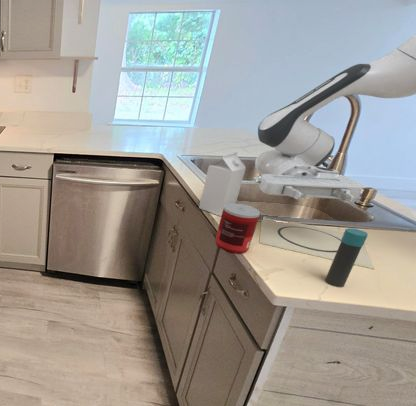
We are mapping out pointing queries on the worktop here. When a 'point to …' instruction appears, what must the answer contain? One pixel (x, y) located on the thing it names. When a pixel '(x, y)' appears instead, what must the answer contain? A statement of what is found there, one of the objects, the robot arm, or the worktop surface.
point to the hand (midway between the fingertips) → (325, 198)
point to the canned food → (236, 227)
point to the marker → (345, 256)
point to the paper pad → (307, 240)
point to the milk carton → (222, 183)
